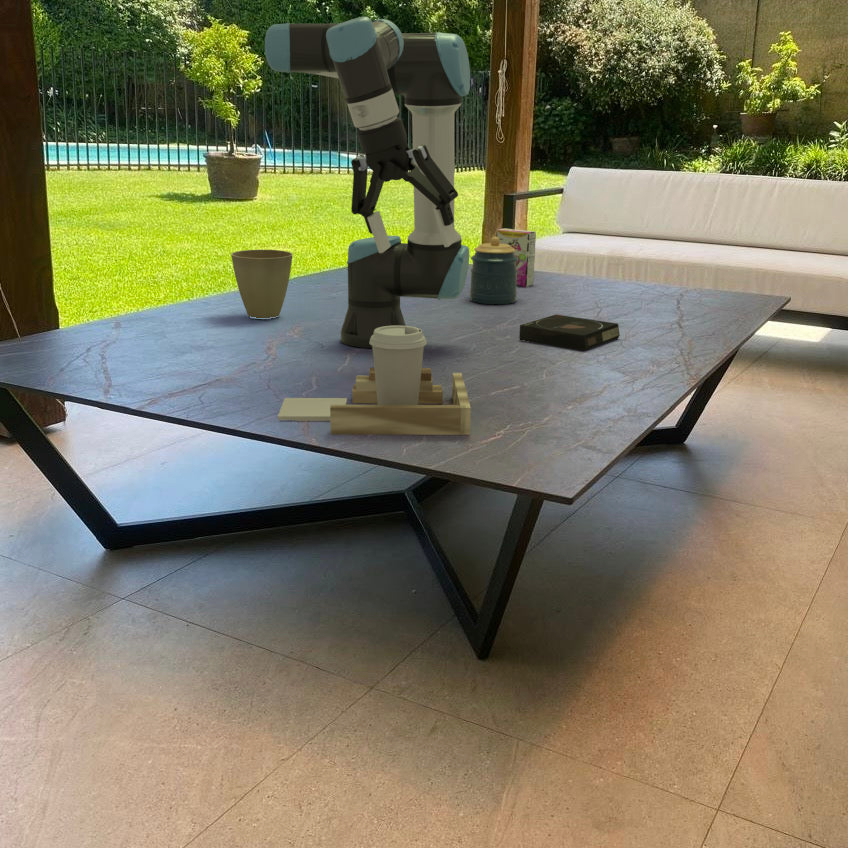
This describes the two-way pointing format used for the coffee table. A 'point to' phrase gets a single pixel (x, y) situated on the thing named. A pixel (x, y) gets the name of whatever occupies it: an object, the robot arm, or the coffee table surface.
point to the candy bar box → (521, 252)
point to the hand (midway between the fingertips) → (417, 247)
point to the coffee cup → (397, 364)
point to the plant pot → (262, 280)
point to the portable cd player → (569, 332)
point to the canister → (494, 273)
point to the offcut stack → (367, 392)
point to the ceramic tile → (308, 408)
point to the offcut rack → (406, 417)
